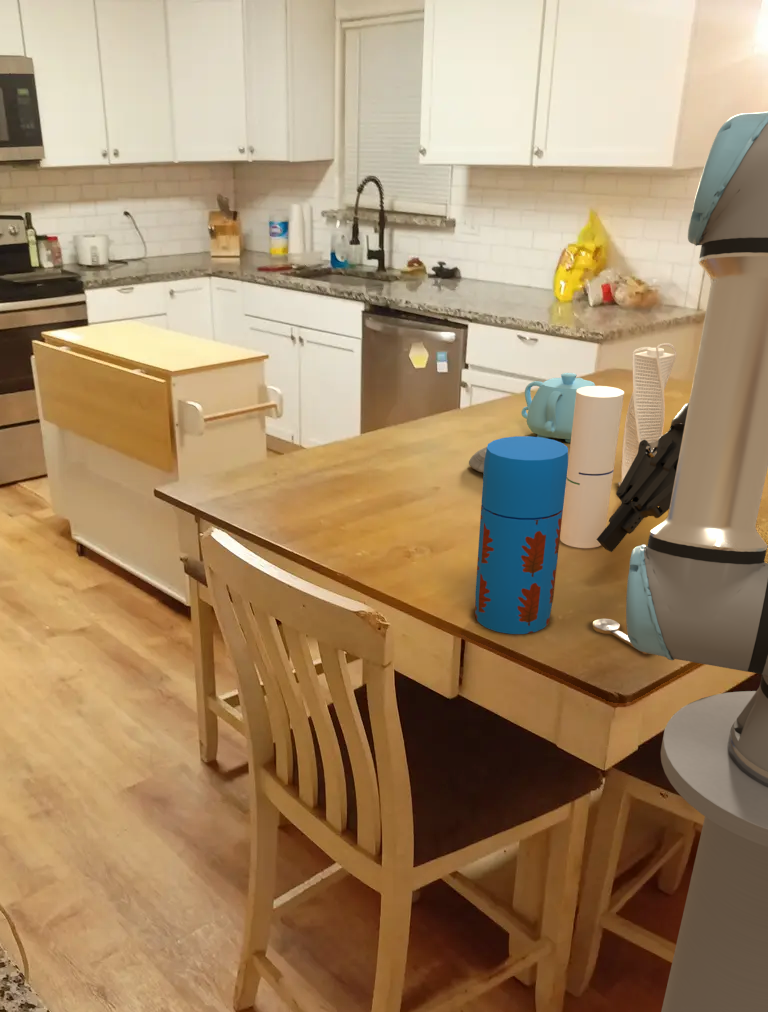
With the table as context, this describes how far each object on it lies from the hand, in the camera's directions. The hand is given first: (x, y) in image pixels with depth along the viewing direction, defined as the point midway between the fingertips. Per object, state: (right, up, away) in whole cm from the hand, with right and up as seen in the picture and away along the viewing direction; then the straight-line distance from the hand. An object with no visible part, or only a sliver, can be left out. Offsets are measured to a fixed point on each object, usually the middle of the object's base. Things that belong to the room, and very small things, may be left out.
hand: (604, 545), depth 139 cm
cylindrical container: (+3, +3, +21) cm, 22 cm away
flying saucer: (-2, +21, +54) cm, 58 cm away
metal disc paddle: (0, -14, -9) cm, 16 cm away
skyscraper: (+20, +14, +40) cm, 47 cm away
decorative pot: (+15, +32, +74) cm, 82 cm away
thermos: (-14, -11, -2) cm, 18 cm away
